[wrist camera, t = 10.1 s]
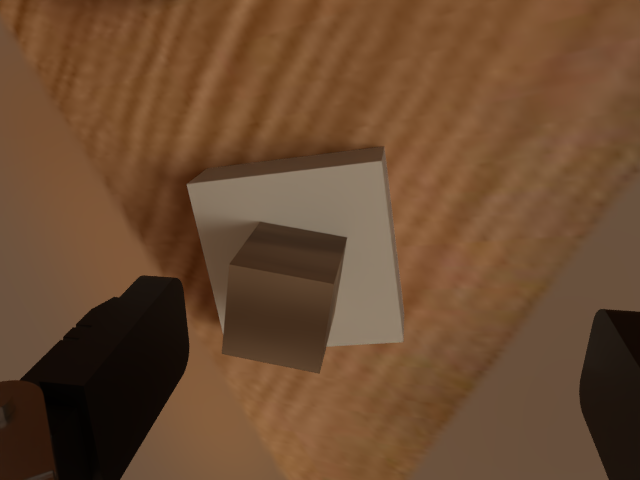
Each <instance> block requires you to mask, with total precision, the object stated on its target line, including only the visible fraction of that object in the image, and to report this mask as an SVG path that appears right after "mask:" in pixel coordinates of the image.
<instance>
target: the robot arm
mask: <svg viewBox="0 0 640 480" xmlns="http://www.w3.org/2000/svg"><path fill="white" fill-rule="evenodd" d="M188 357H189V337H188V328H187V318H186V309H185V300H184V291H183V286H182V283H181V281H180V280H179V279H178V278H171V277H157V276H140V277H139V278H138V279H137V280H136V281H135V282H134V283H133V284H132V285H131V286H130V287H129V288H128V289H127V290H126V291H125V292H124V293H123V294H122V295H121V296H120V297H119V298H118V297H113V298H111V299H110V300H108V301H106V302H104V303H102V304H100V305H98V306H97V307H95V308H93V309H91V310H90V311H89V312H88V313H87V314H86V315H85V316H84V317H83V318H82V319H81V320H80V321H79V322H78V323H77V324H76V328H72V329H71V330H70V331H69V332H68V333H67V334H66V335H65V336H64V337H63V340H60V341H59V342H58V343H57V344H56V345H55V346H54V347H53V348H52V349H51V350H50V351H49V352H48V353H47V354H46V355H45V356H43V357H42V358H41V360H39V362H37V363H36V364H35V365H34V366H33V367H32V368H31V369H30V370H29V371H28V372H27V373H26V374H25V375H24V376H23V377H22V378H21V379H20V380H12V381H2V382H0V480H120V479H121V477H122V475H123V474H124V472H125V470H126V469H127V467H128V465H129V464H130V462H131V460H132V459H133V457H134V455H135V454H136V452H137V450H138V448H139V447H140V445H141V444H142V442H143V440H144V439H145V437H146V435H147V434H148V432H149V430H150V429H151V427H152V425H153V424H154V422H155V420H156V419H157V417H158V416H159V414H160V412H161V411H162V409H163V407H164V405H165V404H166V402H167V401H168V399H169V397H170V395H171V394H172V392H173V391H174V389H175V387H176V386H177V384H178V382H179V381H180V379H181V377H182V375H183V374H184V371H185V369H186V366H187V362H188ZM579 392H580V393H579V395H580V405H581V409H582V413H583V416H584V418H585V421H586V423H587V426H588V428H589V431H590V433H591V436H592V438H593V441H594V443H595V446H596V448H597V450H598V453H599V456H600V458H601V461H602V463H603V466H604V468H605V471H606V473H607V476H608V478H609V480H640V312H635V311H621V310H606V309H600V310H599V311H598V312H597V313H596V315H595V317H594V320H593V324H592V329H591V333H590V338H589V342H588V347H587V351H586V356H585V360H584V365H583V370H582V374H581V379H580V390H579Z"/></svg>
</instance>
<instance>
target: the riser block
mask: <svg viewBox="0 0 640 480" xmlns="http://www.w3.org/2000/svg"><path fill="white" fill-rule="evenodd" d="M187 188H188V192H189V196H190V201H191V205H192V209H193V213H194V217H195V221H196V225H197V229H198V233H199V237H200V241H201V246H202V250H203V254H204V258H205V262H206V266H207V270H208V274H209V278H210V282H211V286H212V290H213V295H214V299H215V303H216V307H217V311H218V315H219V319H220V323H221V327H222V331H223V334H224V321H225V309H226V297H227V284H228V272H229V264H230V262H231V261H232V260H233V258H234V257H235V256H236V254H237V253H238V251H239V250H240V249H241V247H242V246H243V245H244V243H245V242H246V240H247V239H248V238H249V236H250V235H251V233H252V232H253V231H254V229H255V228H256V227H257V225H258V224H259V222H266V223H271V224H277V225H282V226H288V227H293V228H299V229H304V230H310V231H315V232H321V233H326V234H332V235H337V236H343V237H347V242H346V248H345V254H344V260H343V266H342V272H341V278H340V284H339V290H338V296H337V302H336V308H335V314H334V318H333V322H332V326H331V330H330V334H329V338H328V342H327V346H343V345H361V344H378V343H395V342H404V307H403V299H402V291H401V282H400V274H399V265H398V257H397V248H396V240H395V231H394V223H393V214H392V206H391V197H390V189H389V180H388V172H387V163H386V155H385V146H384V147H376V148H368V149H359V150H351V151H343V152H335V153H327V154H319V155H311V156H303V157H295V158H287V159H279V160H270V161H262V162H254V163H246V164H238V165H230V166H222V167H214V168H207V169H206V170H204V171H203V172H202V173H200V174H199V175H198V176H196V177H195V178H194V179H193V180H191V181H190V182H189V183H187Z"/></svg>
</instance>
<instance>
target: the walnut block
mask: <svg viewBox="0 0 640 480" xmlns="http://www.w3.org/2000/svg"><path fill="white" fill-rule="evenodd" d="M346 242H347V237H343V236H337V235H332V234H326V233H321V232H315V231H310V230H304V229H299V228H293V227H288V226H282V225H277V224H271V223H266V222H259V224H258V225H257V227H256V228H255V229H254V231H253V232H252V233H251V235H250V236H249V238H248V239H247V240H246V242H245V243H244V245H243V246H242V247H241V249H240V250H239V251H238V253H237V254H236V256H235V257H234V258H233V260H232V261H231V262H230V264H229V272H228V284H227V297H226V309H225V321H224V334H223V346H222V354H225V355H230V356H235V357H240V358H245V359H250V360H255V361H260V362H265V363H270V364H275V365H280V366H285V367H290V368H295V369H299V370H304V371H309V372H314V373H319V374H320V370H321V366H322V362H323V358H324V354H325V350H326V346H327V342H328V338H329V334H330V330H331V326H332V322H333V318H334V314H335V308H336V302H337V296H338V290H339V284H340V278H341V272H342V266H343V260H344V254H345V248H346Z"/></svg>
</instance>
